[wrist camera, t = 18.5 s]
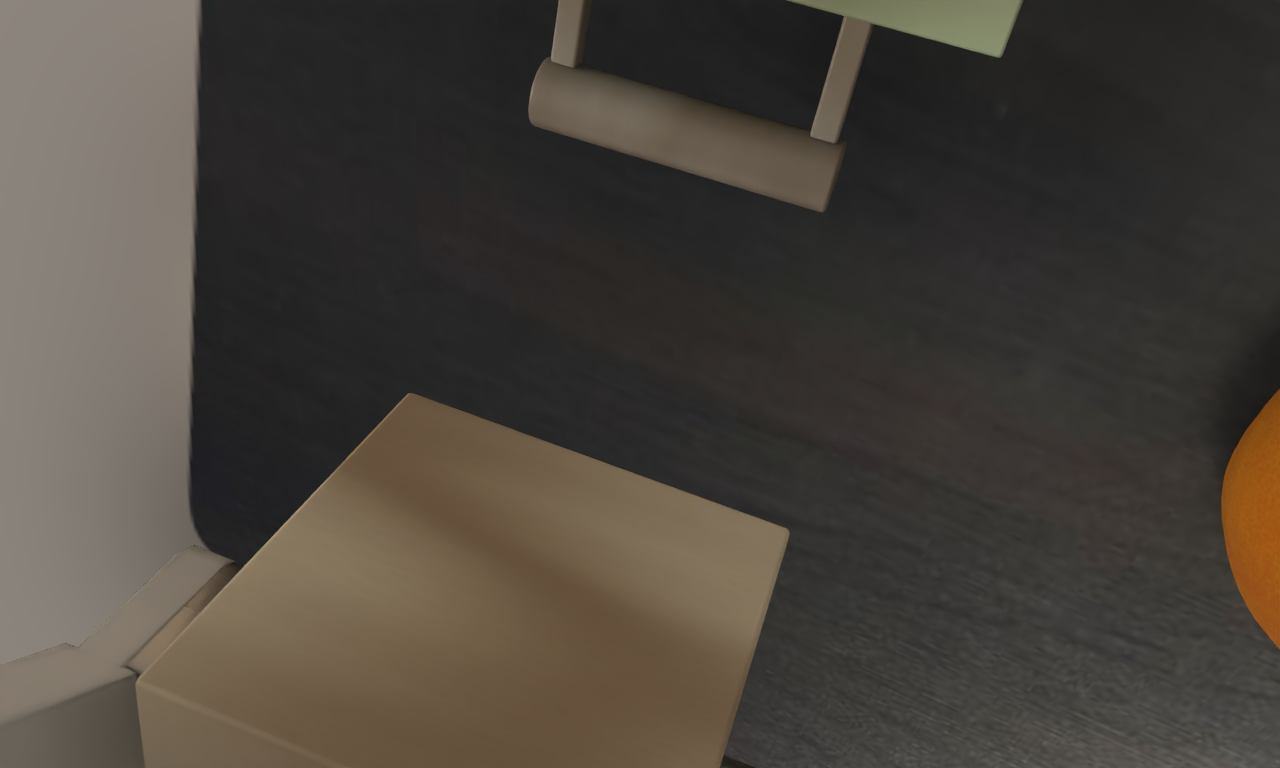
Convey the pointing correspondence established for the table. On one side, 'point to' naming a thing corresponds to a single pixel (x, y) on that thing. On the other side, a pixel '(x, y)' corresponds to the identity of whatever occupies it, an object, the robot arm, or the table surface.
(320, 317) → the table surface
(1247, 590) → the fruit
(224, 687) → the block
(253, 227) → the table surface
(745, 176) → the drawer
